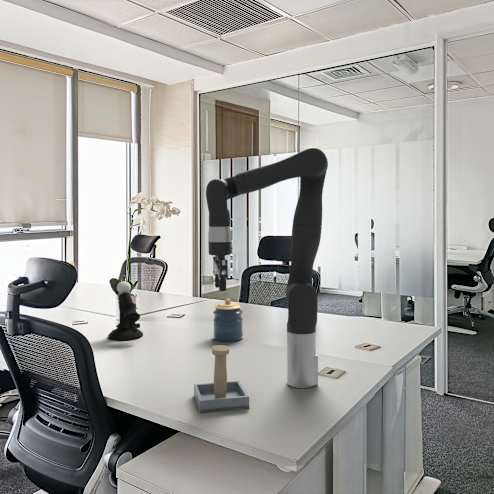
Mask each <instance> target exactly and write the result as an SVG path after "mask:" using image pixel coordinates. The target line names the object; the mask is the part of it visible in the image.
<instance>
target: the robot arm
mask: <svg viewBox="0 0 494 494" xmlns="http://www.w3.org/2000/svg"><path fill="white" fill-rule="evenodd" d="M328 166H329V161H328V157H327V155H326V154H325V152H324V151H323V150H322V149H320V148H317V147H307V148H305V149H304V150H302V151H300V152H298V153H295V154H293V155H292V156H289V157H286V158H284V159H282V160H280V161H279V160H278V161H276V162H273V163H270V164H267V165H262V166H258V167H255V168H251V169H248V170H245V171H241V172H239V173H236V174H235V175H234V176H231V177H230V176H229V177H226V178H223V179H222V178H221V179H220V178H214V179H211V180H210V181H209V182H208V183H207V185H206V189H205V198H206V204H207V205H206V206H207V209H208V233H207V234H208V237H207V238H208V240H207V242H208V245H207V247H208V255H209V256H213V257H212V260H213V261H212V266H213V269H212V271H213V272H212V273H213V276H214V286H215V288H219V289H218V290H219V292H226V291H227V279H228V278H229V273H228V272H229V269H228V264H229V262H228V259H226V256H230V255H232V230H231V213H230V210H229V208H228V200H232V199H234V198H236V197H239V196H241V195H245V194H249V193H253V192H257V191H260V190H263V189H266V188H268V187H270V186H273V185H276V184H278V183H280V182H284V181H286V180H287V181H288V180H290V179H296V178H299V179H300V181H299V196H298V199H297V203H296V206H295V208H294V209H295V210H294V215H293V219H292V229H291V244H290V270H289V275H288V279H287V283H286V288H285V298H286V301H287V304H288V305H287V307H288V308H287V310H288V311H287V322H286V372H287V373H286V375H287V376H286V384H287V385H288V386H290V387H292V388H296V389H298V388H299V389H308V388H313V387H315V386H319V356H318V354H317V351H316V349H317V338H316V337H317V333H316V332H317V330H316V329H317V323H318V302H319V301H318V293H317V290H316V289H315V288H314V286H313V272H314V271H313V270H314V263H315V260H316V257H317V255H318V254H317V253H318V251H319V247H320V244H321V236H322V226H323V192H324V191H323V190H324V184H325V179H326V175H327V170H328Z"/></svg>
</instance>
